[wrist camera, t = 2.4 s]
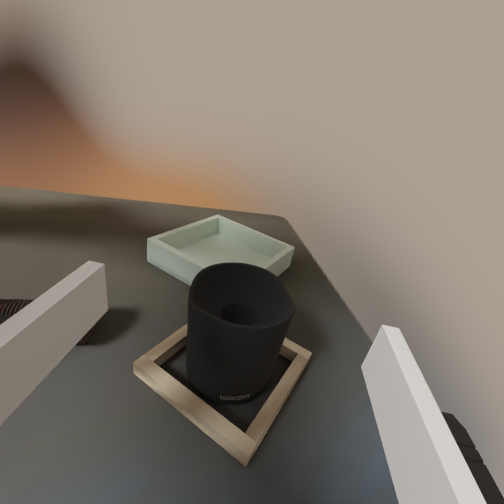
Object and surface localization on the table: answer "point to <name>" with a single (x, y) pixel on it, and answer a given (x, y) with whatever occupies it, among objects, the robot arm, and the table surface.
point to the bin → (215, 248)
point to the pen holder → (235, 330)
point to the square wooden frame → (205, 415)
